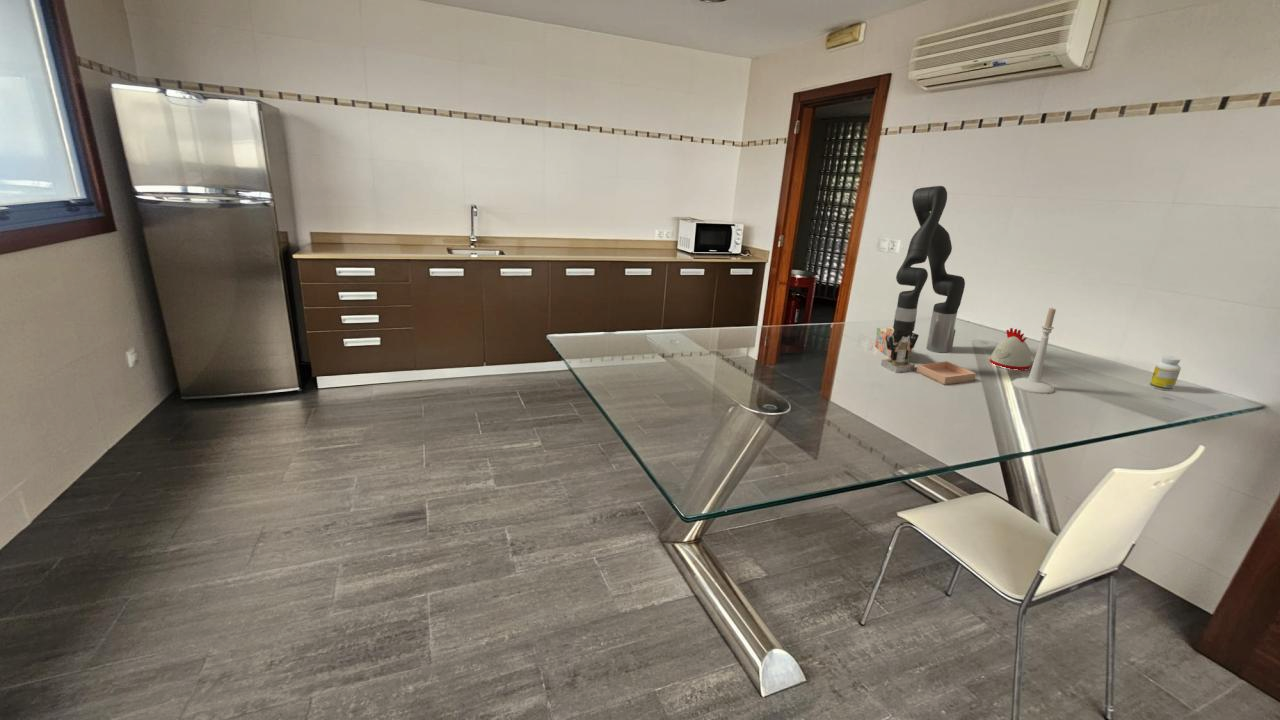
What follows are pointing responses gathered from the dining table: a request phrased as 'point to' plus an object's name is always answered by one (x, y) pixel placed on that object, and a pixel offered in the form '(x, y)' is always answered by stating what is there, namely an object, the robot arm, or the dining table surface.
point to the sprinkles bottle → (901, 353)
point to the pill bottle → (1166, 373)
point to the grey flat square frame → (901, 368)
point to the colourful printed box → (881, 341)
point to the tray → (946, 373)
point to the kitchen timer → (1012, 352)
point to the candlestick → (1038, 364)
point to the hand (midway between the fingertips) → (898, 359)
